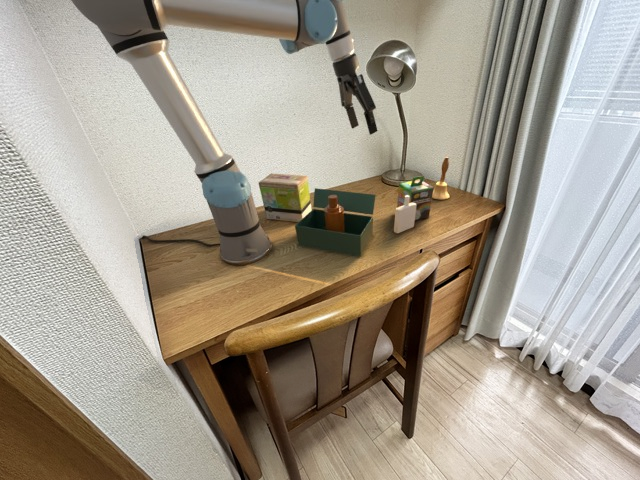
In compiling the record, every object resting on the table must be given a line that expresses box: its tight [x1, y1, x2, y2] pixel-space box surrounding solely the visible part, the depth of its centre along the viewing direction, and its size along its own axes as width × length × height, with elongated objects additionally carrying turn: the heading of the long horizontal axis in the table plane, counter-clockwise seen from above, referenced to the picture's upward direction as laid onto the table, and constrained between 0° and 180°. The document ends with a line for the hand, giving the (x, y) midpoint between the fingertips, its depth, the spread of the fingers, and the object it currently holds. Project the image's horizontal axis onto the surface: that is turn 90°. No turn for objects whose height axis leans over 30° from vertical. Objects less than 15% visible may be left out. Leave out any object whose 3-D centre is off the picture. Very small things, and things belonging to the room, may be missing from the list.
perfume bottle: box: [393, 195, 416, 234], centre depth 86 cm, size 8×2×12 cm, turn 124°
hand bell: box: [432, 156, 450, 201], centre depth 107 cm, size 8×8×16 cm
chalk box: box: [396, 175, 435, 221], centre depth 94 cm, size 9×9×15 cm
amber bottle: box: [323, 195, 345, 233], centre depth 81 cm, size 6×6×15 cm
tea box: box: [258, 173, 313, 223], centre depth 97 cm, size 15×10×15 cm, turn 76°
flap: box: [312, 187, 377, 216], centre depth 85 cm, size 21×6×1 cm
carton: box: [294, 208, 374, 257], centre depth 83 cm, size 21×13×7 cm, turn 70°
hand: (364, 129), depth 91 cm, fingers open, 13 cm apart
